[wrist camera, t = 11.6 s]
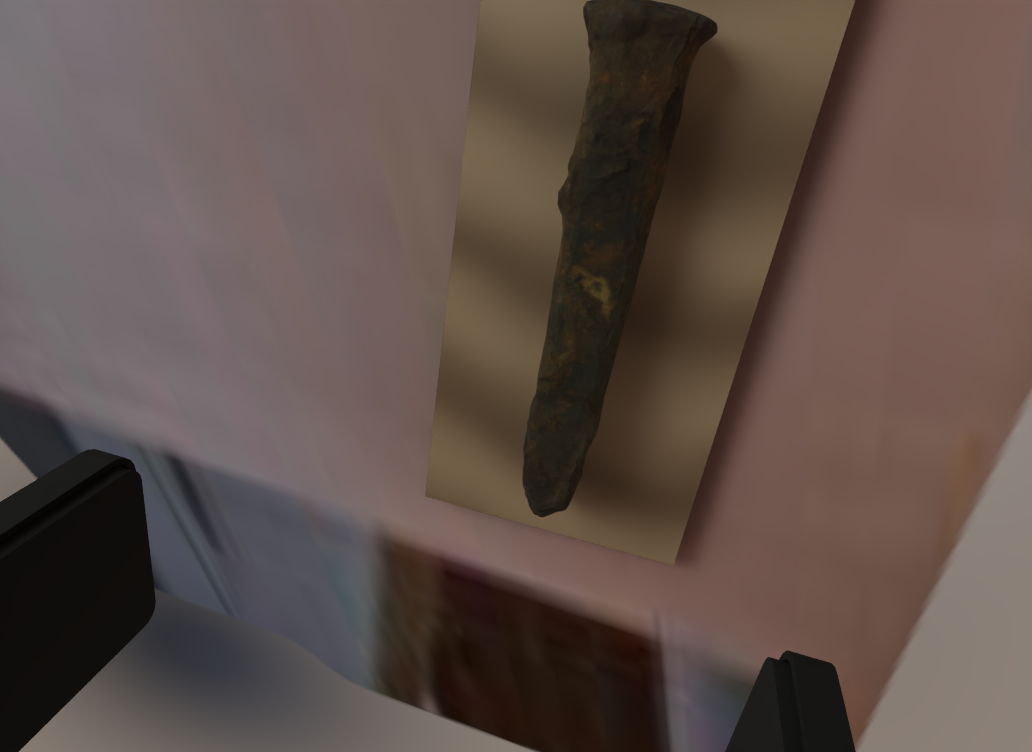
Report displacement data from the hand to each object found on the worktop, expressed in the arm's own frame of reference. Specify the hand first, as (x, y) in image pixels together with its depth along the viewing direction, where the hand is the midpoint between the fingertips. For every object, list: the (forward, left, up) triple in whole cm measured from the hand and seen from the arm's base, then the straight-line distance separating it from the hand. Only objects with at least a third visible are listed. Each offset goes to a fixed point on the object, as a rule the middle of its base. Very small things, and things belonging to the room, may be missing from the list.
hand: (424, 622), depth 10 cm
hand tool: (0, +1, -19) cm, 19 cm away
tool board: (0, 0, -20) cm, 20 cm away
